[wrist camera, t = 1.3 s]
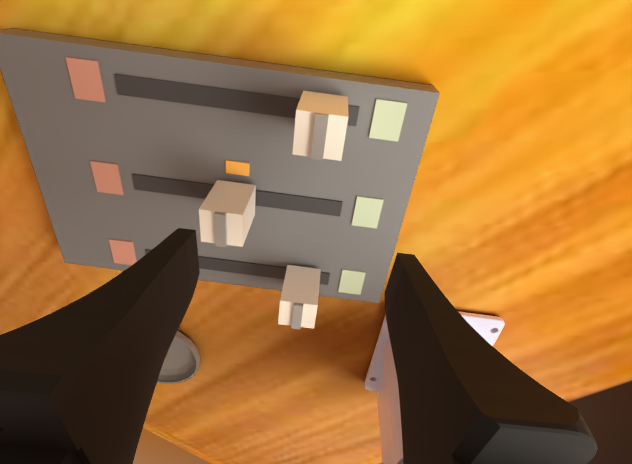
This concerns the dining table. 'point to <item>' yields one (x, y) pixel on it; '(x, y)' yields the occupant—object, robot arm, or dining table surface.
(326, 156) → the handle
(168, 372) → the pocket watch
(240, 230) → the handle
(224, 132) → the panel
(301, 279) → the handle
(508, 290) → the dining table surface
